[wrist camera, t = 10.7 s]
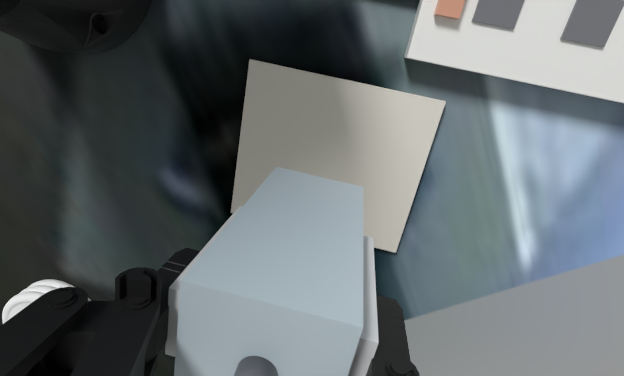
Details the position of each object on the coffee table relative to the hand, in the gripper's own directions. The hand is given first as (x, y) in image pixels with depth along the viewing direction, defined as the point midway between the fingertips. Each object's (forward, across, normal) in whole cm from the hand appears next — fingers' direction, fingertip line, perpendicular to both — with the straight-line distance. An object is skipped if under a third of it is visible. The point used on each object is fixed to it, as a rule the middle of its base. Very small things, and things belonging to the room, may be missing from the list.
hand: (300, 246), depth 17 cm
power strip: (+15, +13, +14) cm, 25 cm away
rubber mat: (+15, 0, 0) cm, 15 cm away
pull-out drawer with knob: (+4, 0, 0) cm, 4 cm away
